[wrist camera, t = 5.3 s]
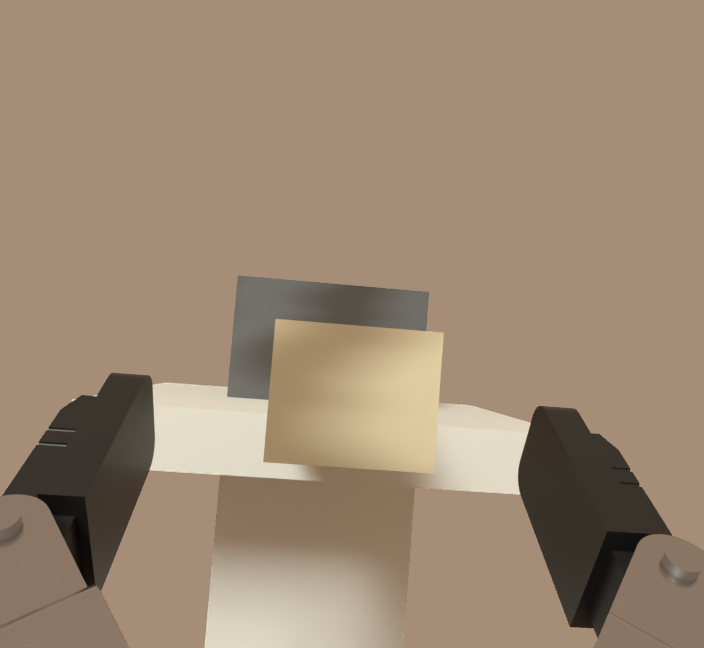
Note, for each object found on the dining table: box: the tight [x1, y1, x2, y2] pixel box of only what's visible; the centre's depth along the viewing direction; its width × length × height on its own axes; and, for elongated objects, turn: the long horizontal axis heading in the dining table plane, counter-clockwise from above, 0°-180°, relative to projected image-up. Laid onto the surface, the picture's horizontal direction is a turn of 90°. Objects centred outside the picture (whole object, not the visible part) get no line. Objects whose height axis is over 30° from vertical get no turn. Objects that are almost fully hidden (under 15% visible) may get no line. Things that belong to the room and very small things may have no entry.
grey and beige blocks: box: [227, 276, 444, 474], centre depth 22 cm, size 8×21×5 cm, turn 4°
